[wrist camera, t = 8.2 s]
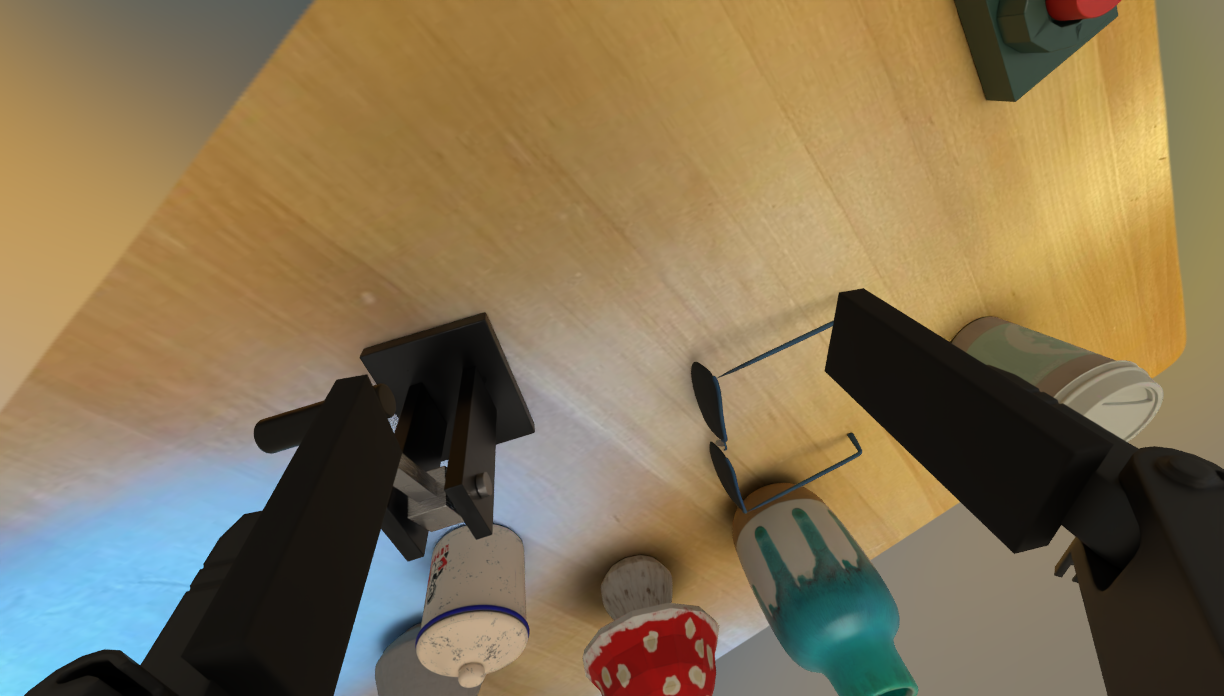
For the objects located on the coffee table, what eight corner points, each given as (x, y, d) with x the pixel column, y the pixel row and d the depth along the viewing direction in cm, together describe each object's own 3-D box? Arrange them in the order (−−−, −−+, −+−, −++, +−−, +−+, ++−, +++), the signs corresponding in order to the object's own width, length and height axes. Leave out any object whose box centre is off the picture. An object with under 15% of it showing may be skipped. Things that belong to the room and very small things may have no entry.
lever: (259, 403, 19) (246, 456, 17) (379, 367, 19) (376, 416, 18) (407, 500, 28) (407, 539, 27) (486, 475, 29) (490, 513, 27)
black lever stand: (363, 348, 33) (291, 483, 22) (486, 311, 33) (474, 426, 22) (430, 455, 39) (400, 603, 28) (534, 423, 39) (544, 557, 28)
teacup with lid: (427, 522, 42) (403, 658, 33) (528, 516, 45) (534, 642, 35) (433, 601, 48) (414, 736, 38) (522, 592, 50) (526, 719, 41)
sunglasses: (682, 351, 38) (712, 382, 34) (833, 282, 40) (879, 303, 36) (717, 485, 47) (743, 522, 43) (839, 424, 49) (876, 454, 45)
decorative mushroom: (716, 555, 54) (780, 704, 41) (635, 620, 57) (671, 776, 45) (630, 514, 47) (674, 676, 35) (545, 591, 51) (558, 762, 38)
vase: (824, 499, 52) (965, 691, 36) (743, 546, 54) (844, 750, 38) (788, 448, 47) (937, 647, 30) (700, 503, 48) (797, 719, 32)
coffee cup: (1031, 330, 45) (1184, 406, 35) (958, 393, 47) (1080, 480, 37) (994, 285, 41) (1154, 355, 31) (917, 356, 44) (1040, 442, 33)
